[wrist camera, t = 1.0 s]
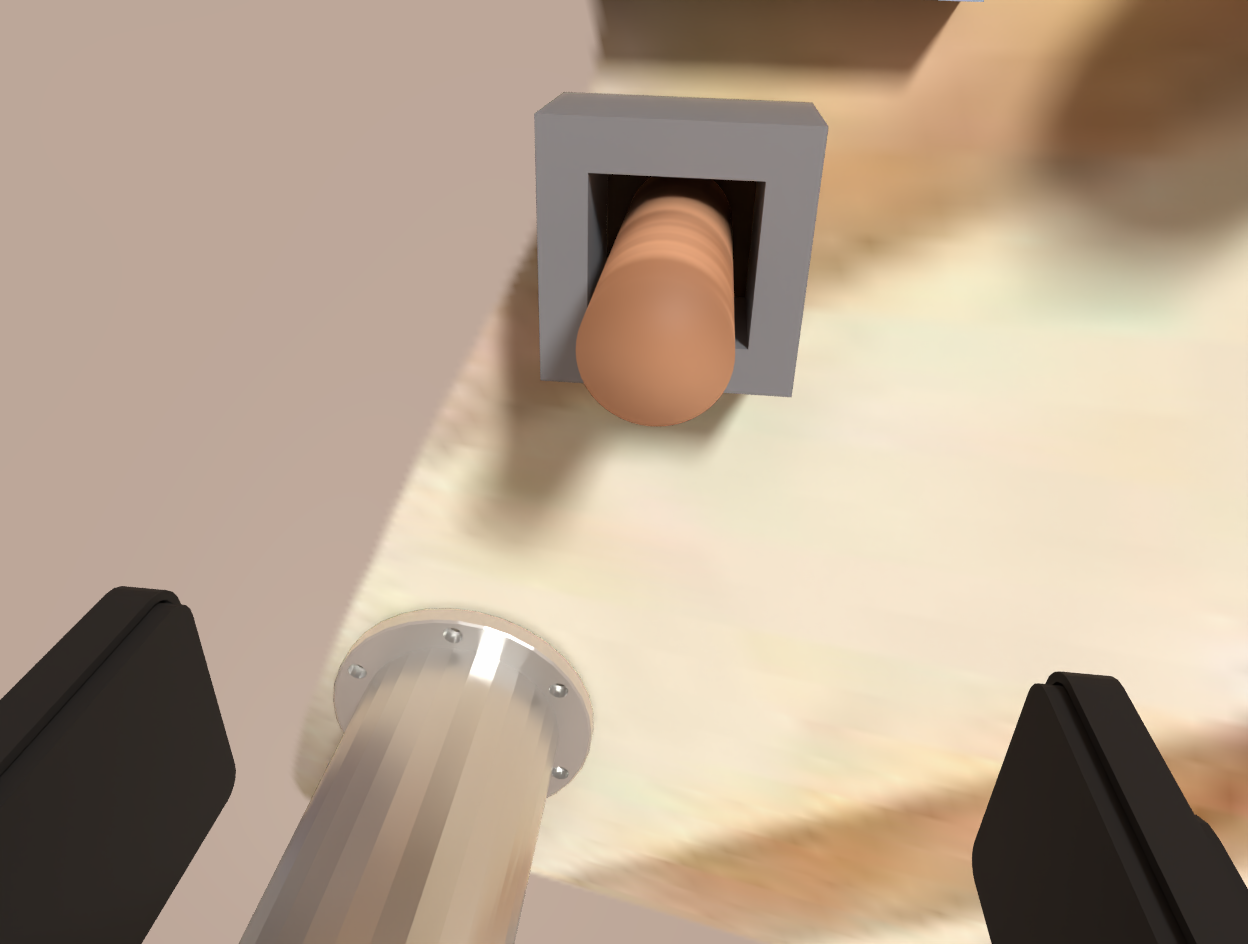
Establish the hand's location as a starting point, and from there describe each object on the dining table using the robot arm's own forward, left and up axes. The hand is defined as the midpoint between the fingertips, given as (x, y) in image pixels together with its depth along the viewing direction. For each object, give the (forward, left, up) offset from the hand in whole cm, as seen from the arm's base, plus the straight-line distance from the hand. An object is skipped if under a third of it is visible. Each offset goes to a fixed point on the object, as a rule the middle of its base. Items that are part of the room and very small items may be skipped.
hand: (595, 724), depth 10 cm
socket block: (0, 0, -23) cm, 23 cm away
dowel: (0, 0, -23) cm, 23 cm away
